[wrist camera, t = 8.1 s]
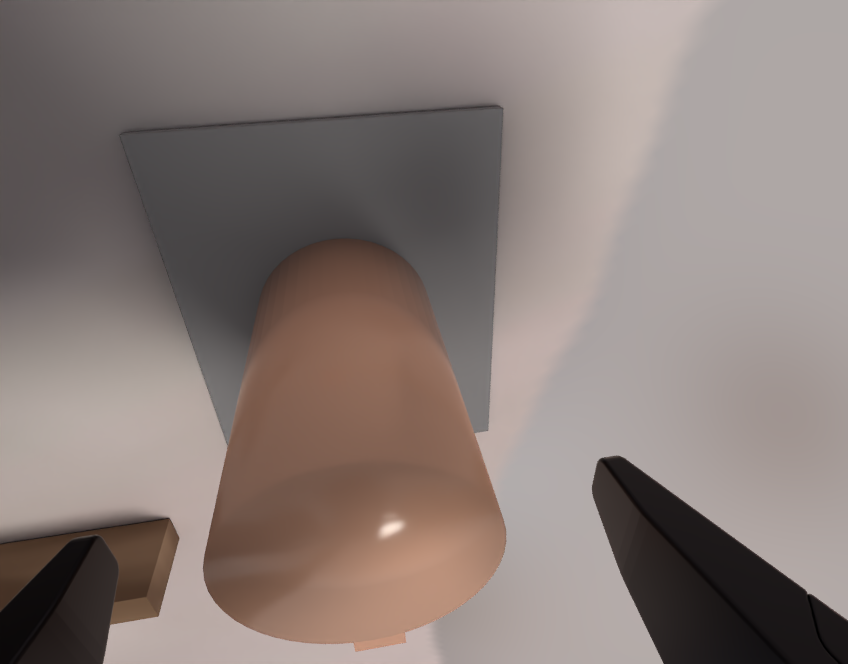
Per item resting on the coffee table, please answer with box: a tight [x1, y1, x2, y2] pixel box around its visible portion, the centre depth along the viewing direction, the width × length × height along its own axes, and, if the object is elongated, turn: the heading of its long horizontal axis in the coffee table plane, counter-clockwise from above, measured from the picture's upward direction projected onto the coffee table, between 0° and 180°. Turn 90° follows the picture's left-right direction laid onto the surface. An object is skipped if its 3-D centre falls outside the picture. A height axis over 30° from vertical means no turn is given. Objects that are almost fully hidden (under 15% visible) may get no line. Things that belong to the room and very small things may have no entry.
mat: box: [119, 106, 503, 445], centre depth 15 cm, size 11×9×1 cm
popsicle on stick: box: [203, 238, 506, 652], centre depth 13 cm, size 5×7×8 cm
